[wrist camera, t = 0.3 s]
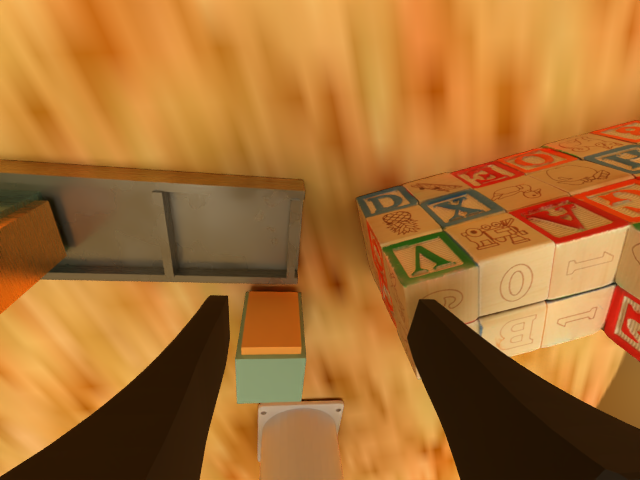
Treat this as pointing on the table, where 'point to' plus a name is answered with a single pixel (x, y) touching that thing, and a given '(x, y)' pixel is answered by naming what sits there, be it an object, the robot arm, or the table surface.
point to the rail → (144, 226)
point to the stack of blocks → (518, 244)
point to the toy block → (271, 348)
